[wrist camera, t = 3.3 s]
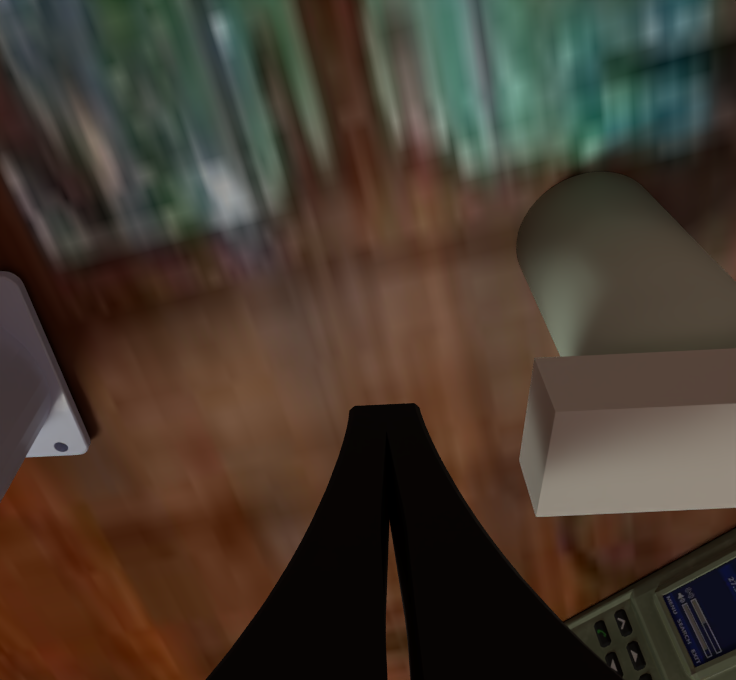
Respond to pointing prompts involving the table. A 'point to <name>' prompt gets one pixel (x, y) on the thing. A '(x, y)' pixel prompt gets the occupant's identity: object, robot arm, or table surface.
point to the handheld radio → (671, 620)
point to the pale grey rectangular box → (631, 433)
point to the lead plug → (621, 272)
